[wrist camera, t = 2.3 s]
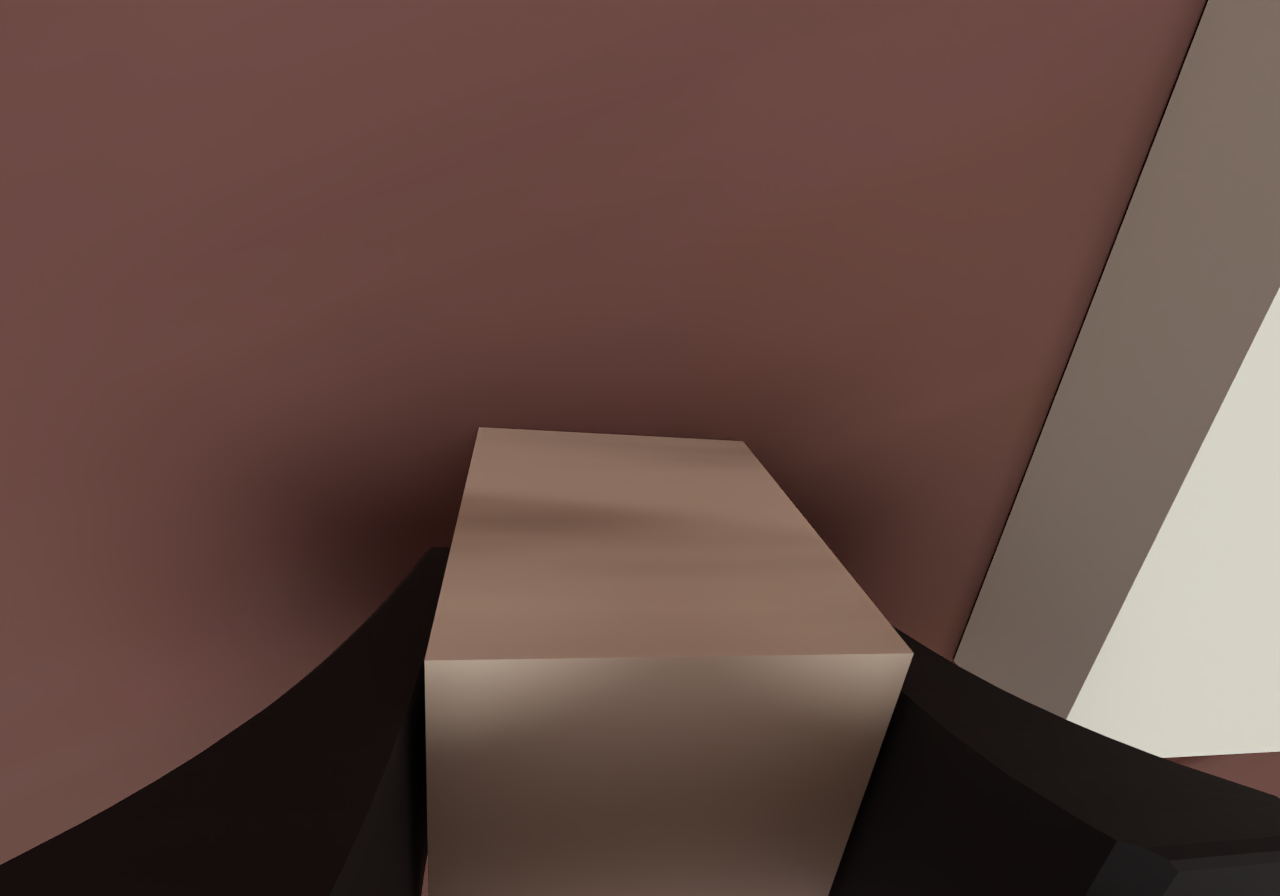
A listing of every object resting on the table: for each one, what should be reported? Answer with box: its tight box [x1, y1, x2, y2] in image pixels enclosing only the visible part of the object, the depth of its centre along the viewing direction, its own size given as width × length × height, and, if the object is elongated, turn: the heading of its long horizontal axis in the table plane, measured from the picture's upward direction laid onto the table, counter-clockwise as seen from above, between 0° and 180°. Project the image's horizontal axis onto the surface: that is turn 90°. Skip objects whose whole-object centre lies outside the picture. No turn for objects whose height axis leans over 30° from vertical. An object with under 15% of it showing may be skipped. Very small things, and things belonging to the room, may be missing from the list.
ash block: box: [424, 427, 914, 896], centre depth 10 cm, size 5×5×6 cm
